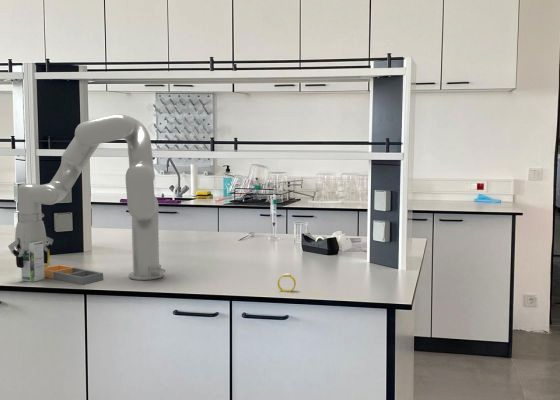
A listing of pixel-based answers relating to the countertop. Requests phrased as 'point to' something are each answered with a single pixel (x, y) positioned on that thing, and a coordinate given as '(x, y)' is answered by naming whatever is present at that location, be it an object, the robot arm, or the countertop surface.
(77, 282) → the compartment tray
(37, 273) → the syrup box
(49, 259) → the supplement bottle
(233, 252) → the countertop surface
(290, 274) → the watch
